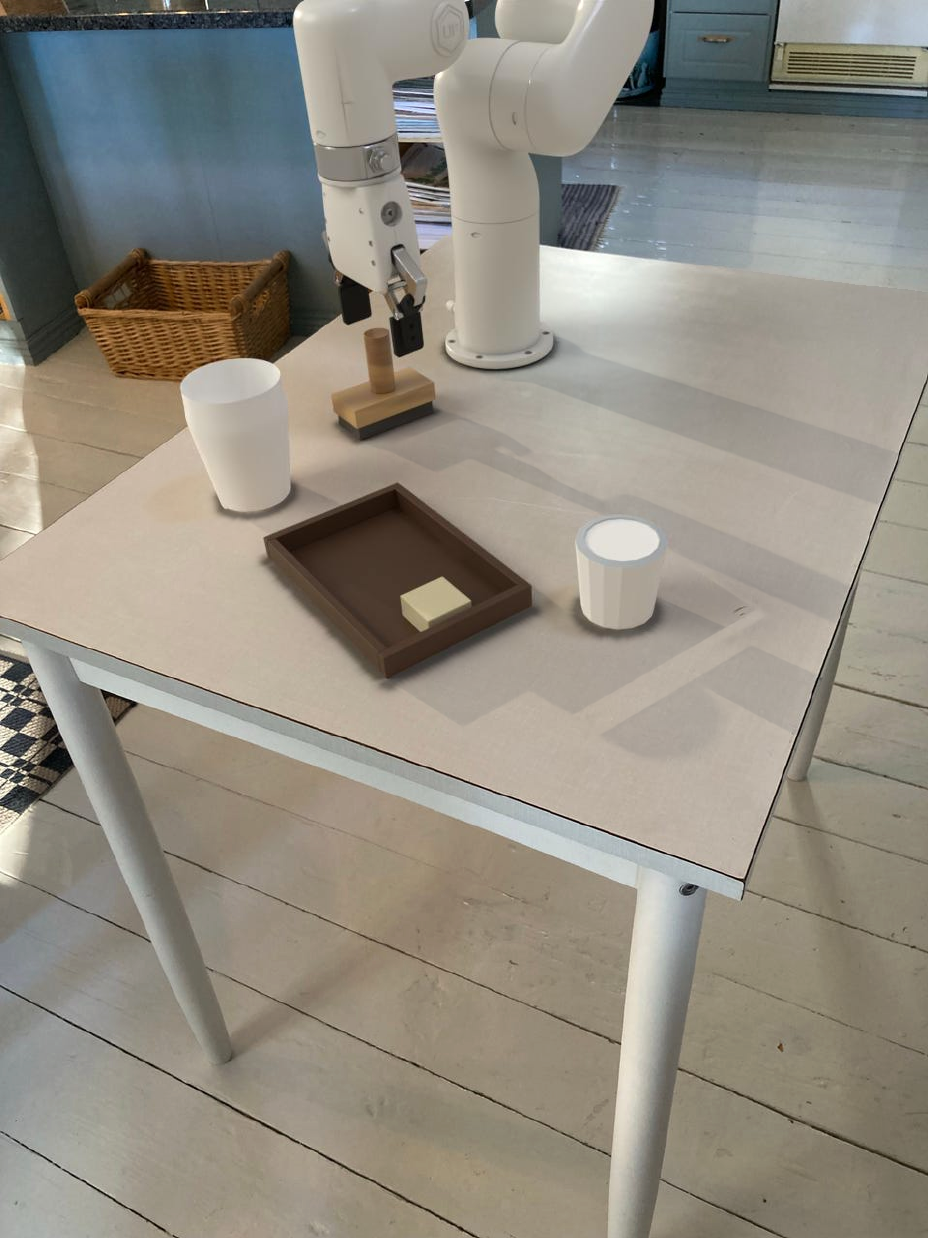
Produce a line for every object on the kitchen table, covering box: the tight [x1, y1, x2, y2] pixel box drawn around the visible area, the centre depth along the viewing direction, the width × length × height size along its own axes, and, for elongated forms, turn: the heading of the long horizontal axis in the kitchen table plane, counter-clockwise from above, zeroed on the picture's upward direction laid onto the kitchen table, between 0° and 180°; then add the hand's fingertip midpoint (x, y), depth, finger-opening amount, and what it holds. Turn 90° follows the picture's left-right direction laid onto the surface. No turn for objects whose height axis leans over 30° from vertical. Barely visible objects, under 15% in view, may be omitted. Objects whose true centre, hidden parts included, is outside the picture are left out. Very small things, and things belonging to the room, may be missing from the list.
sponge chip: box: [400, 577, 471, 632], centre depth 77 cm, size 4×4×2 cm
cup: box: [179, 357, 291, 513], centre depth 90 cm, size 9×9×12 cm
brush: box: [330, 327, 437, 441], centre depth 102 cm, size 5×10×10 cm, turn 125°
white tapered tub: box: [574, 513, 669, 630], centre depth 76 cm, size 7×7×7 cm
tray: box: [262, 482, 533, 680], centre depth 82 cm, size 20×14×3 cm
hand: (382, 335), depth 100 cm, fingers open, 9 cm apart
